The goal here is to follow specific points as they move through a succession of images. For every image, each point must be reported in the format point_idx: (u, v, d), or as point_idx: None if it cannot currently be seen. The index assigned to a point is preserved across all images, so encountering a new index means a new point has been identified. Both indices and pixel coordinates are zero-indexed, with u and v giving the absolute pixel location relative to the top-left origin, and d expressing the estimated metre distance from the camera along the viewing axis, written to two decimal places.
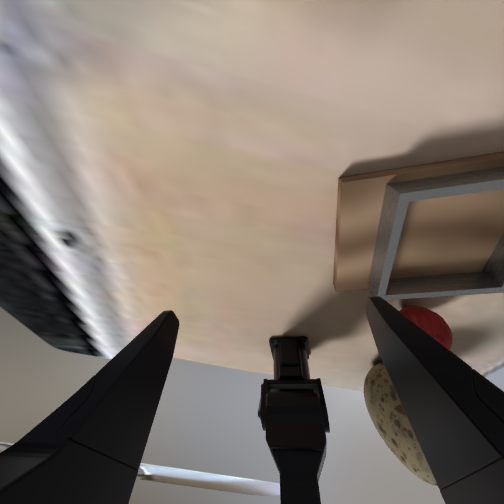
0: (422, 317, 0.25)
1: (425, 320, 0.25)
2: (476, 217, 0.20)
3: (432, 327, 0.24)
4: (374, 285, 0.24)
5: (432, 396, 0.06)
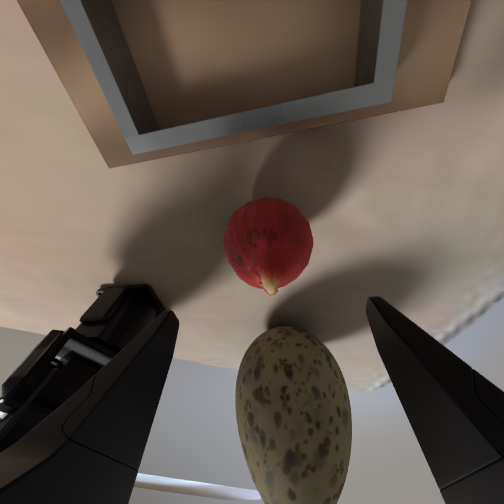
0: (253, 205, 0.13)
1: (255, 208, 0.12)
2: None
3: (260, 216, 0.12)
4: None
5: (432, 396, 0.06)
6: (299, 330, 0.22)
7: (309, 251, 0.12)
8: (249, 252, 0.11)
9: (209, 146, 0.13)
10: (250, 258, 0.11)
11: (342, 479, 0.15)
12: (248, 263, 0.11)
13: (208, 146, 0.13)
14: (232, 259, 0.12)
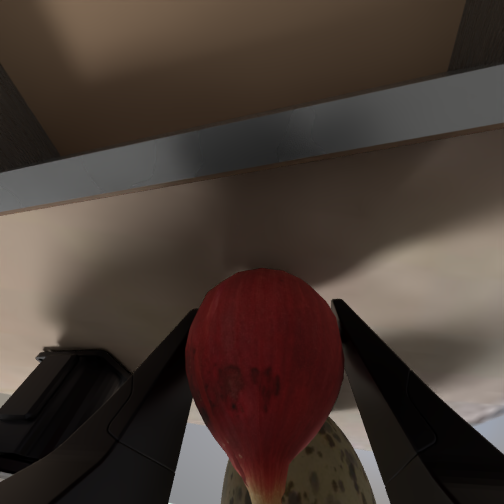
0: (235, 296, 0.07)
1: (237, 307, 0.06)
2: None
3: (246, 335, 0.06)
4: None
5: (373, 396, 0.06)
6: None
7: (340, 385, 0.07)
8: (223, 417, 0.05)
9: (156, 185, 0.07)
10: (225, 429, 0.05)
11: None
12: (220, 436, 0.05)
13: (154, 185, 0.07)
14: (195, 402, 0.07)
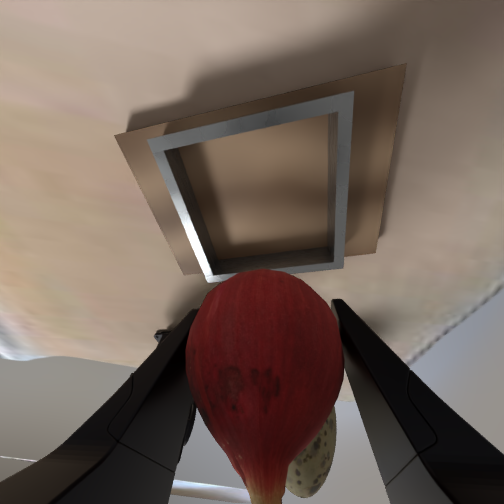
0: (236, 297, 0.07)
1: (237, 308, 0.06)
2: (287, 177, 0.17)
3: (246, 336, 0.06)
4: None
5: (373, 396, 0.06)
6: None
7: (340, 386, 0.07)
8: (223, 417, 0.05)
9: None
10: (225, 430, 0.05)
11: (329, 463, 0.24)
12: (220, 436, 0.06)
13: None
14: (195, 402, 0.07)
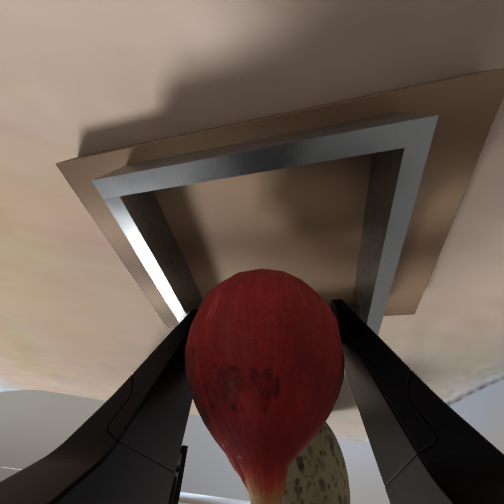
0: (235, 297, 0.07)
1: (237, 307, 0.06)
2: (305, 224, 0.12)
3: (246, 335, 0.06)
4: None
5: (373, 396, 0.06)
6: None
7: (340, 385, 0.07)
8: (222, 417, 0.05)
9: None
10: (224, 430, 0.05)
11: None
12: (220, 436, 0.05)
13: None
14: (195, 402, 0.07)
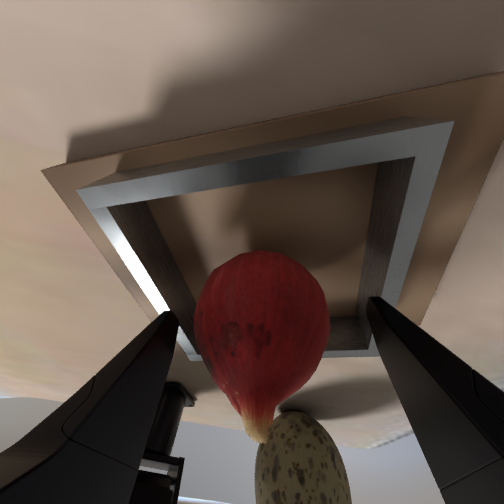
0: (237, 270, 0.08)
1: (238, 278, 0.08)
2: (305, 233, 0.11)
3: (244, 298, 0.07)
4: None
5: (432, 396, 0.06)
6: (307, 423, 0.26)
7: (324, 347, 0.08)
8: (224, 362, 0.07)
9: None
10: (225, 372, 0.07)
11: None
12: (221, 378, 0.07)
13: None
14: (201, 356, 0.08)
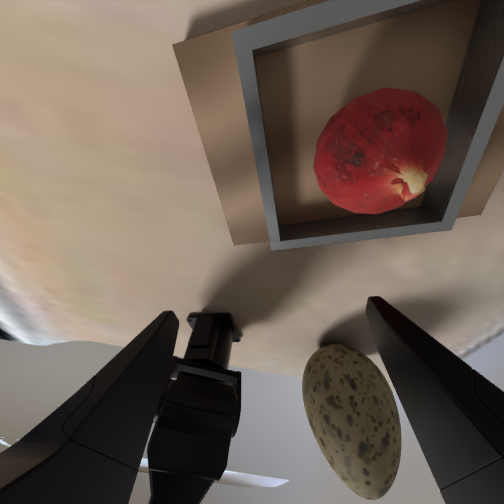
0: (369, 93, 0.10)
1: (374, 93, 0.09)
2: None
3: (390, 97, 0.09)
4: None
5: (432, 396, 0.06)
6: (351, 349, 0.28)
7: None
8: (380, 140, 0.08)
9: None
10: (381, 148, 0.08)
11: (398, 462, 0.21)
12: (376, 156, 0.08)
13: None
14: (342, 163, 0.09)
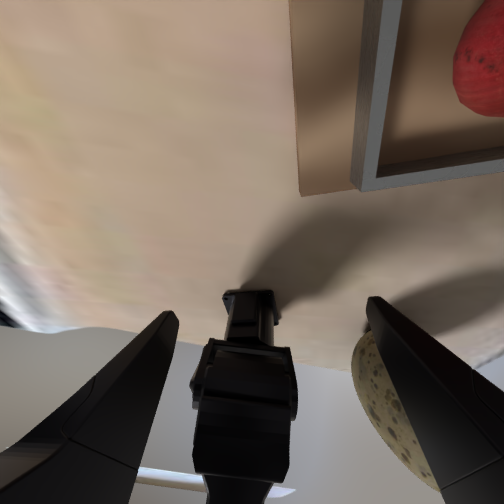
0: None
1: None
2: None
3: None
4: (358, 166, 0.14)
5: (432, 396, 0.06)
6: None
7: None
8: None
9: None
10: None
11: None
12: None
13: None
14: None
